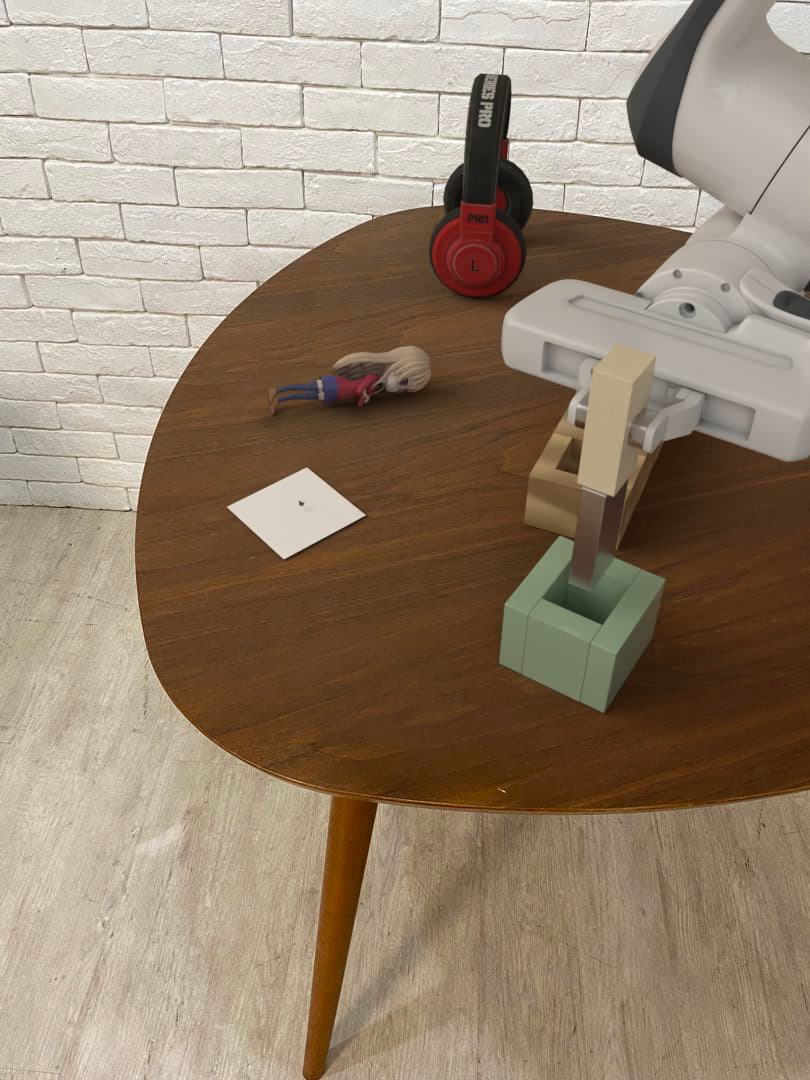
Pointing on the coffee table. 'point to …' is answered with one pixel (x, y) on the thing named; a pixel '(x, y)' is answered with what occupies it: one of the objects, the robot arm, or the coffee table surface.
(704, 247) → the robot arm
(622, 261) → the coffee table surface
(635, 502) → the rack
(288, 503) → the white flat sheet
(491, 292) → the headphones
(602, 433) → the knife
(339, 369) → the figurine
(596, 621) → the holder
